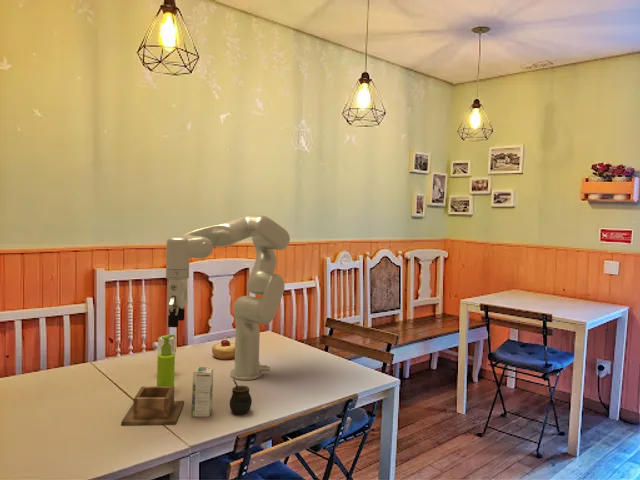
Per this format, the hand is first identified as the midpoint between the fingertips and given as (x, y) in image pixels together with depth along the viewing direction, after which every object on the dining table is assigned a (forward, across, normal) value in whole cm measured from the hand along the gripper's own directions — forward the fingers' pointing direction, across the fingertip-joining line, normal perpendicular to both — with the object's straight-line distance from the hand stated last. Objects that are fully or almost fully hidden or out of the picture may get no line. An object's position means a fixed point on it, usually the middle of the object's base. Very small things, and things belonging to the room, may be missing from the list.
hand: (176, 323), depth 168 cm
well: (+27, -12, +4) cm, 29 cm away
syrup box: (+27, -11, -11) cm, 31 cm away
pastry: (+27, +49, -11) cm, 57 cm away
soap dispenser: (+27, +8, +5) cm, 28 cm away
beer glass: (+27, +24, +9) cm, 37 cm away
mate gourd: (+27, -9, -23) cm, 37 cm away
